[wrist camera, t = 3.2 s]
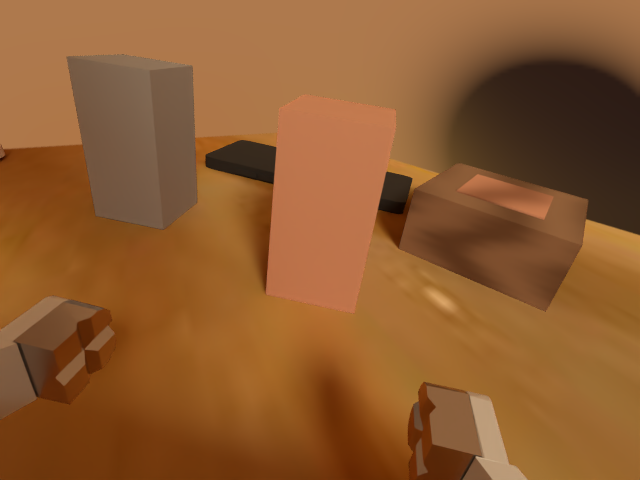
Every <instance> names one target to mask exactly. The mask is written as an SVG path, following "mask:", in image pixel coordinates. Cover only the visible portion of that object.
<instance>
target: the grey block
mask: <svg viewBox="0 0 640 480" xmlns="http://www.w3.org/2000/svg"><path fill="white" fill-rule="evenodd" d="M67 62H68V67H69V73H70V78H71V83H72V89H73V95H74V100H75V105H76V111H77V116H78V122H79V127H80V133H81V138H82V144H83V149H84V154H85V160H86V165H87V171H88V176H89V182H90V187H91V193H92V198H93V203H94V209H95V214H96V216H99V217H104V218H108V219H113V220H118V221H123V222H128V223H133V224H138V225H142V226H147V227H152V228H157V229H162V230H164V229H165V228H166V227H167V226H169V225H170V224H171V223H172V222H174V221H175V220H176V219H177V218H179V217H180V216H181V215H182V214H184V213H185V212H186V211H187V210H189V209H190V208H191V207H192V206H193V205H195V204H196V203H197V182H196V153H195V126H194V125H195V124H194V96H193V68H192V66H191V65H185V64H178V63H172V62H166V61H160V60H154V59H148V58H142V57H136V56H129V55H123V54H122V55H98V56H97V55H96V56H69V57H67Z"/></svg>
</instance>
